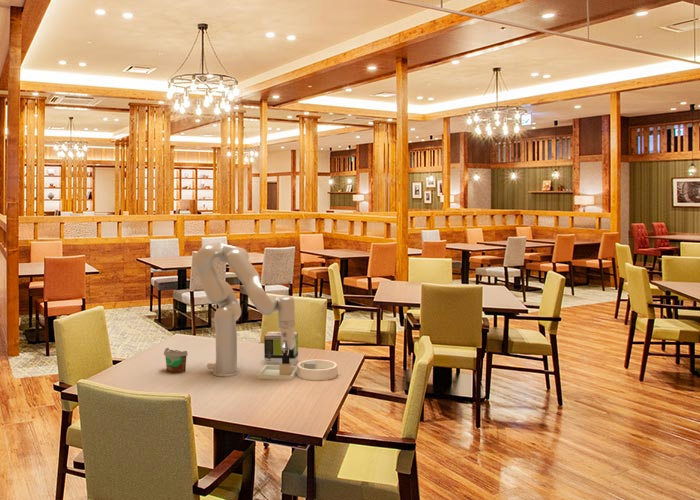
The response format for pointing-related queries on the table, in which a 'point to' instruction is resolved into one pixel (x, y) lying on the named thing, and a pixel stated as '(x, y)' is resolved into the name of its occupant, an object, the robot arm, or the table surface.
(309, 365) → the slate cube
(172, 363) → the food container
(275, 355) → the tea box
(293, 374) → the tray
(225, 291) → the robot arm
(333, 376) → the bowl
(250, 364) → the table surface
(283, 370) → the sandstone cube
